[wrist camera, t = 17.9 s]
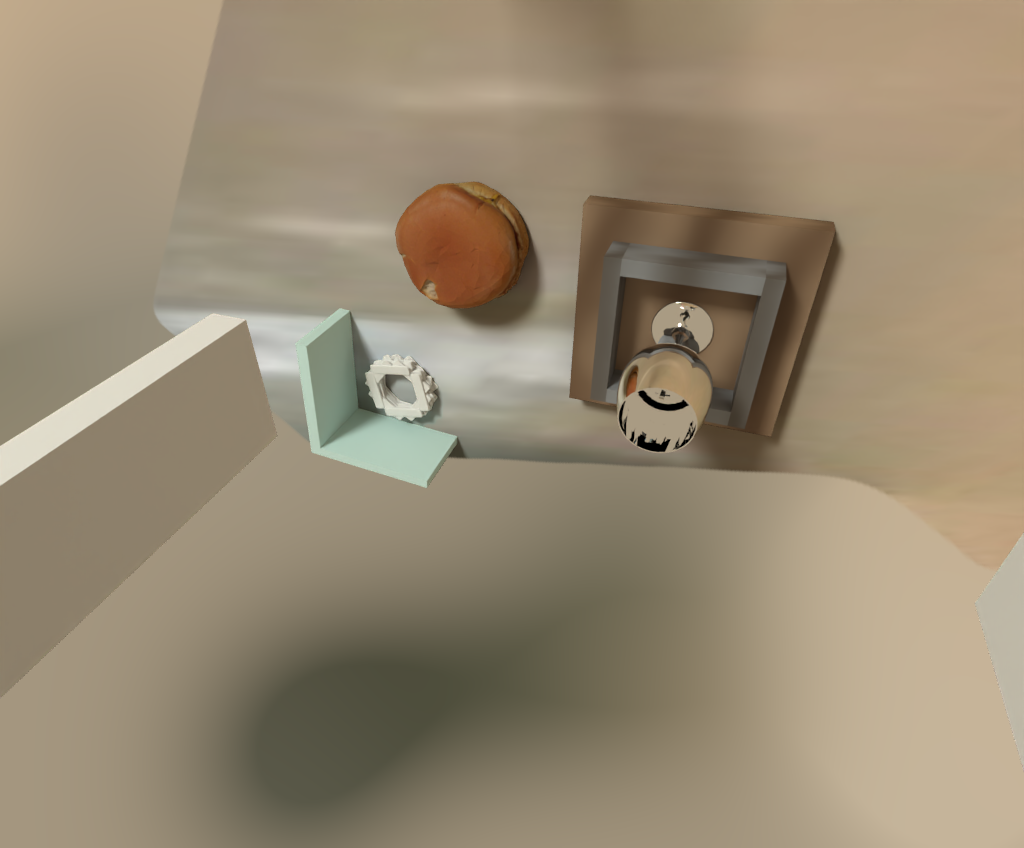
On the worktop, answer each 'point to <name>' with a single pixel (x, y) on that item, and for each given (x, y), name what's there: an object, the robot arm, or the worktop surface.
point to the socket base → (697, 297)
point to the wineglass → (668, 381)
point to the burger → (462, 244)
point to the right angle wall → (359, 431)
